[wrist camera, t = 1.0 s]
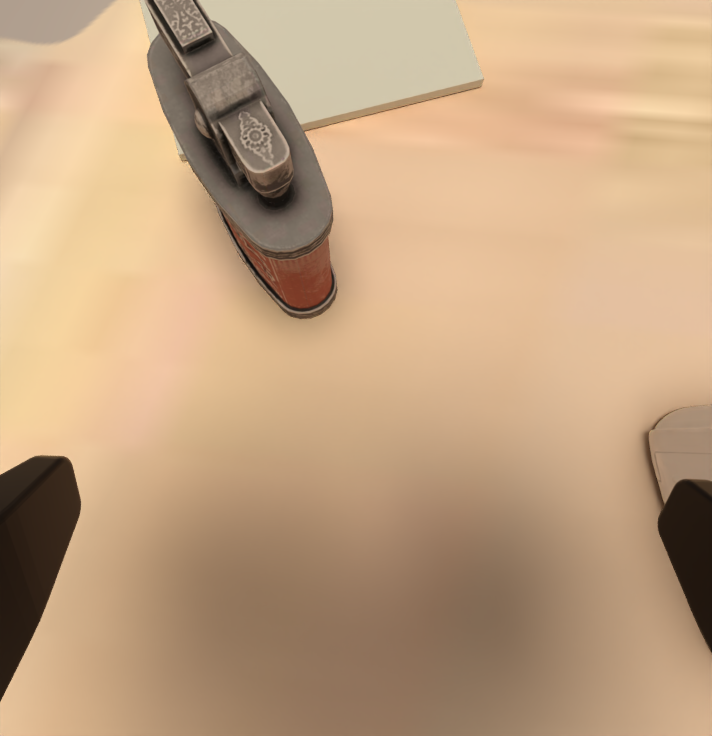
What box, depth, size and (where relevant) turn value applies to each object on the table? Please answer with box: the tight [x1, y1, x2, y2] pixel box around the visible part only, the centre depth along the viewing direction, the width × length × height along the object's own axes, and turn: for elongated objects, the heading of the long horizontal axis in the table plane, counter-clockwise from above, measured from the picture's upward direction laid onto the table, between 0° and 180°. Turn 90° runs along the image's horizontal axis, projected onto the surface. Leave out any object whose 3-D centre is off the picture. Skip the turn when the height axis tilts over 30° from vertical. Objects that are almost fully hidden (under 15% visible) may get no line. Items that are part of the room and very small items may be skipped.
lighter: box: [144, 0, 337, 319], centre depth 17 cm, size 8×3×10 cm, turn 31°
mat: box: [140, 0, 484, 161], centre depth 23 cm, size 14×8×1 cm, turn 106°
